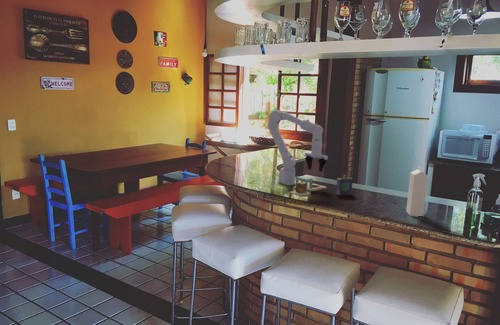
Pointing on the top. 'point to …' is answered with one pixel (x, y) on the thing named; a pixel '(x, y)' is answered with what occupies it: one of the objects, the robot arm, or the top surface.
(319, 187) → the board
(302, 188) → the block
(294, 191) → the pad
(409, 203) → the milk
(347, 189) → the flask
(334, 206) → the top surface
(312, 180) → the cover
